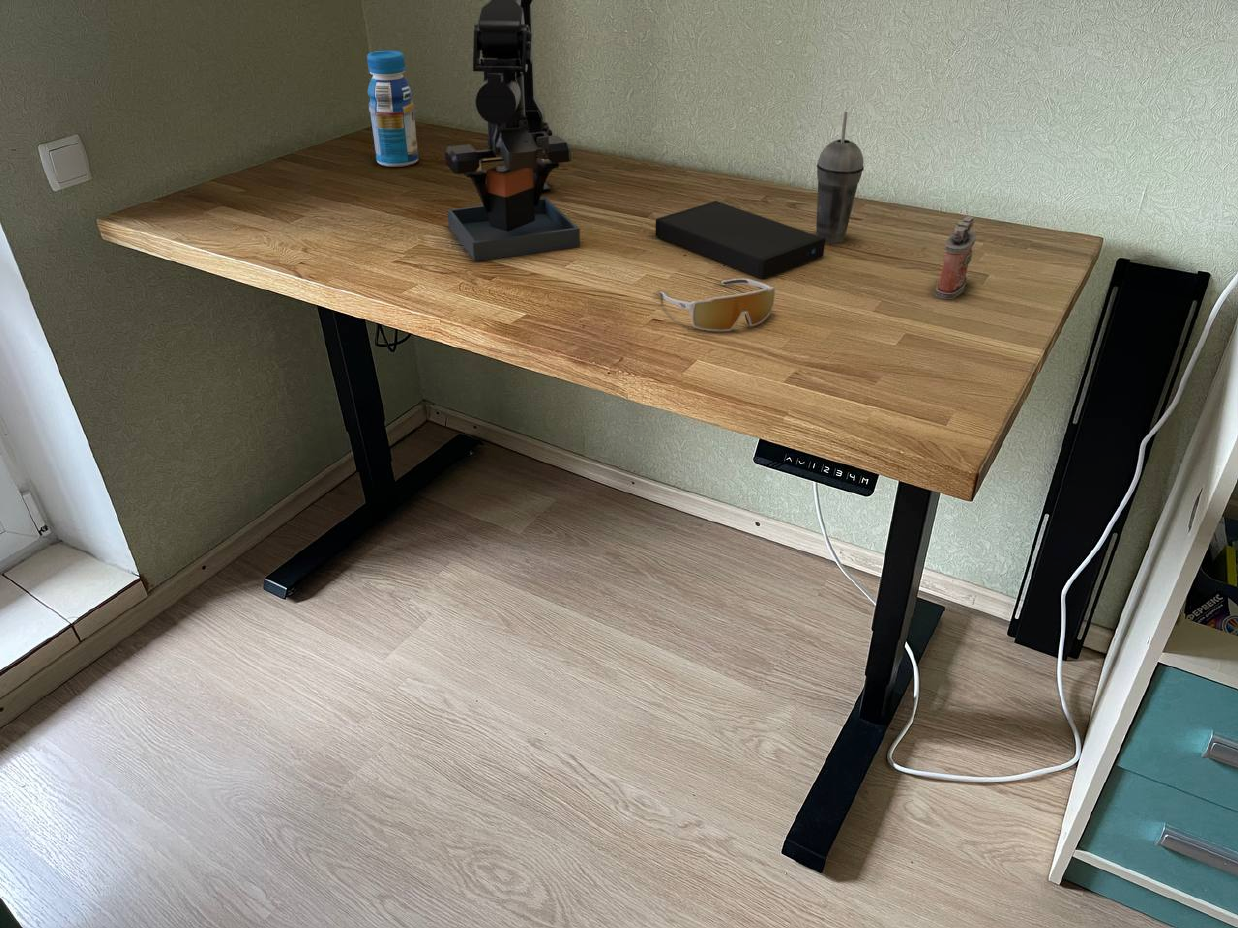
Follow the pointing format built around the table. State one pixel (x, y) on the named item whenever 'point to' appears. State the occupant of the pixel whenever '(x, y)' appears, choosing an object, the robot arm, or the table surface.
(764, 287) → the sunglasses
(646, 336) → the table surface
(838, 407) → the table surface
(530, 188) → the battery
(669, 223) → the external hard drive
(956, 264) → the lighter
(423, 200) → the table surface
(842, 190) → the beverage cup
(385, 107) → the beverage bottle
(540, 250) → the tray
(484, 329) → the table surface
